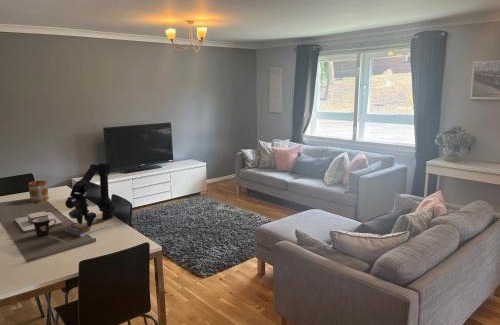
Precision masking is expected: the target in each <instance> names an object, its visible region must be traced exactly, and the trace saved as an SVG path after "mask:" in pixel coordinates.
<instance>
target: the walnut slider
mask: <svg viewBox="0 0 500 325" xmlns="http://www.w3.org/2000/svg"><path fill="white" fill-rule="evenodd" d="M70 226H71V227H74V228H78V229H81V230H84V233H85V232H88V231H91V228H90V227H89V226H88V225H83V223H82V224H79V223H78V222H74V223H70Z"/></svg>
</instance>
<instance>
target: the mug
mask: <svg viewBox="0 0 500 325" xmlns="http://www.w3.org/2000/svg"><path fill="white" fill-rule="evenodd" d="M47 182H48V181H47V180H44V179H43V180H42V179H41V180H35V181H33V180H32V181H30V182H28V184H27V186H28V192H29V198H30V200H29V202H31V203H42V202H45V201H46V202H47V201H48V200H49V198H50V197H49V190H48V183H47ZM41 201H42V202H41Z"/></svg>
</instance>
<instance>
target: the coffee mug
mask: <svg viewBox="0 0 500 325" xmlns="http://www.w3.org/2000/svg"><path fill="white" fill-rule="evenodd" d="M51 221H54V223H53V225H51V226H50V222H51ZM32 223H33V225H34V226H33V227H34V230H35V233H36V236H37V238H43V237H47V236H49V233H50V232H49V231H50V230H51V229H52V228H53V227H54V226H55V224H56V223H57V221H56V219H53V218H52V219H50V218H49V217H48V216H47V217H37V218H35V219H33V220H32Z"/></svg>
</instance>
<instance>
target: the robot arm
mask: <svg viewBox="0 0 500 325" xmlns="http://www.w3.org/2000/svg"><path fill="white" fill-rule="evenodd" d="M110 172H111V164H110V163H108V162H99V163H92V164H90V166H89V168H88V170H87V171H85V174H84V175H83V176H82V177H81V179H79V180H77V181H76V182H75V183H74V184H73V186H72V188H71V192H70V194H69V196H68V197H67V199H66V201H65V203H64V204H65V207H66V208H67V209H70V212H68V213H67V214H68V216H69V217H70V219H74V220H75V219H76V221H77V223H79V224H83V218H84V221H85V222H87V225H86V226H89V227H90V229H91V227H92V225H93V223H92V222H93V220H95V219H96V217H97V214H96V213H95V212H94V211H93V212H91V211H90V210H89V208H88V207H89V203H87V195H89V193H88V189H89V184H90V182H91V180H92V179H93V178H94V176H95V175H96V174H98V176H99V185H100V186H99V189H100V198H99V199H98V200H97V207H98V210H99V212H102V214H101V217H102V218H101V219H102V221H103V220H104V221H105V220H111V219H114V211H115V210H116V207H115V205H113V203H112V199H111V198H110V196H109V174H110ZM73 208H74V209H73ZM71 209H72V210H71Z"/></svg>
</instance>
